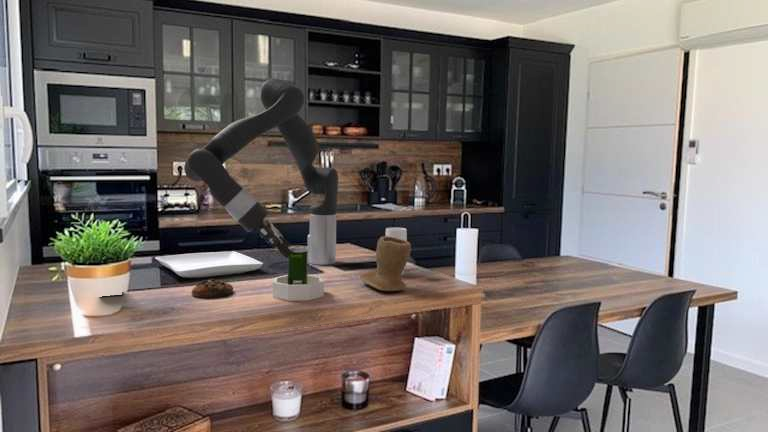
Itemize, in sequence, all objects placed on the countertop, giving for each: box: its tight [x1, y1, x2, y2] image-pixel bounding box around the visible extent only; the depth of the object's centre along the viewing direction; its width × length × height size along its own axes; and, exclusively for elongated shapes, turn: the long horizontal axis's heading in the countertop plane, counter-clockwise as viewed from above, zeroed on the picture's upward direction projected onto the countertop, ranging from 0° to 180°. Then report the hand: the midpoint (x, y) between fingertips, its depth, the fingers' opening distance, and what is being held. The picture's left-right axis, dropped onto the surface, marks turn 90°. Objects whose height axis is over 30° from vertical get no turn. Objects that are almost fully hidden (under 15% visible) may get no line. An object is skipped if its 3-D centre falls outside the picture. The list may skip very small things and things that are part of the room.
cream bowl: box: [272, 273, 325, 302], centre depth 157 cm, size 13×13×4 cm
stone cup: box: [358, 235, 412, 292], centre depth 166 cm, size 15×12×15 cm
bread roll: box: [191, 278, 234, 299], centre depth 155 cm, size 11×11×5 cm
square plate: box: [154, 250, 264, 279], centre depth 187 cm, size 27×27×4 cm
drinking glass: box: [385, 227, 408, 276], centre depth 183 cm, size 7×7×15 cm
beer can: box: [287, 245, 309, 285], centre depth 156 cm, size 5×5×12 cm
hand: (290, 252), depth 155 cm, fingers open, 8 cm apart
